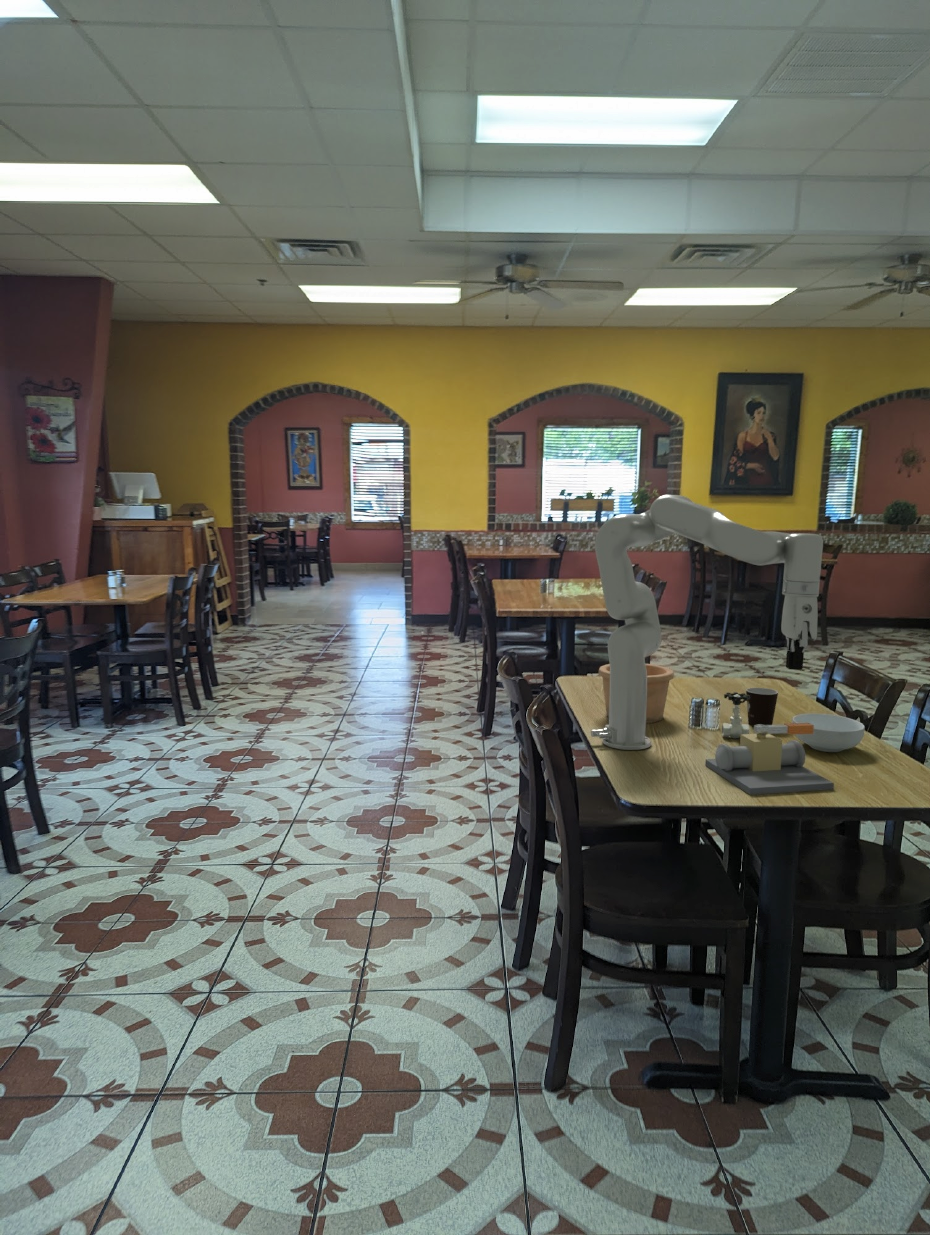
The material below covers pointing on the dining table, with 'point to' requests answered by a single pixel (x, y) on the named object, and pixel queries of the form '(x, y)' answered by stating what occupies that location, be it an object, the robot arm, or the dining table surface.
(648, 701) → the pottery
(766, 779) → the valve board
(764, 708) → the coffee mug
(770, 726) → the valve lever
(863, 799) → the dining table surface
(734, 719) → the valve
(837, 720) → the cereal bowl
